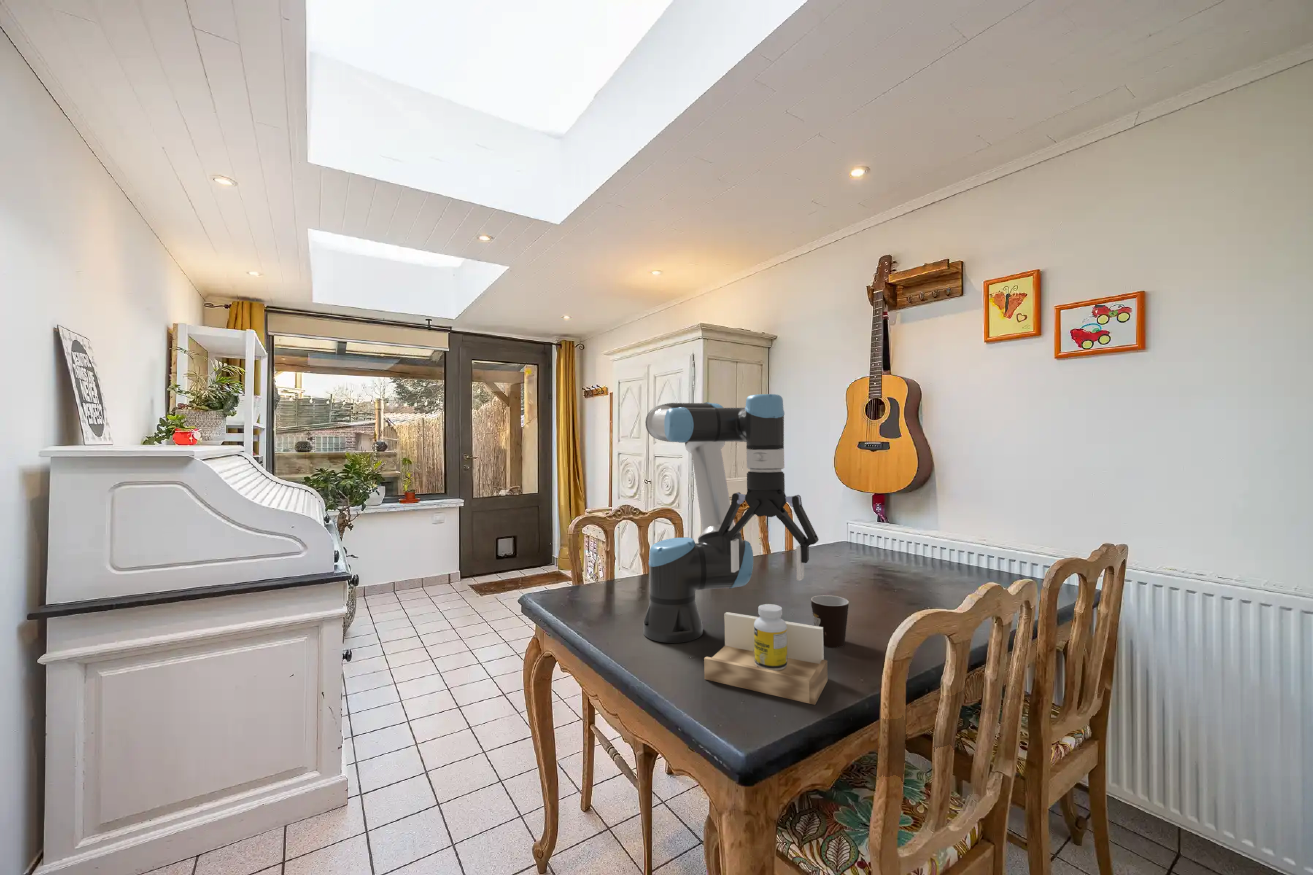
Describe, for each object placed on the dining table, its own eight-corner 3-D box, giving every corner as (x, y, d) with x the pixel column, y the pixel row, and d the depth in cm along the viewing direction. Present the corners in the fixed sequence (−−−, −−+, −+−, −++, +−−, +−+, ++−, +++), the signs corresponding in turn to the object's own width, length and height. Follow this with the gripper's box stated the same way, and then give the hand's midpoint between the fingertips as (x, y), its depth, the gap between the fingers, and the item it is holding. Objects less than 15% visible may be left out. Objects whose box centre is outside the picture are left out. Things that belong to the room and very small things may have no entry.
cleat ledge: (704, 679, 104) (704, 658, 104) (725, 659, 114) (724, 640, 114) (815, 704, 93) (814, 681, 93) (827, 680, 103) (827, 659, 103)
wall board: (725, 659, 114) (724, 613, 114) (727, 656, 115) (726, 611, 115) (822, 679, 103) (821, 629, 104) (824, 676, 105) (823, 627, 105)
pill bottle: (751, 659, 106) (750, 603, 106) (781, 657, 107) (780, 601, 107) (759, 673, 100) (758, 613, 100) (792, 671, 100) (791, 611, 100)
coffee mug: (852, 650, 118) (851, 606, 118) (813, 648, 119) (812, 604, 120) (844, 632, 129) (843, 592, 129) (808, 630, 131) (808, 591, 131)
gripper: (701, 470, 107) (703, 571, 107) (824, 472, 95) (826, 587, 95) (715, 468, 114) (717, 564, 114) (832, 470, 102) (834, 577, 102)
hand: (766, 574), depth 104 cm, fingers open, 13 cm apart
